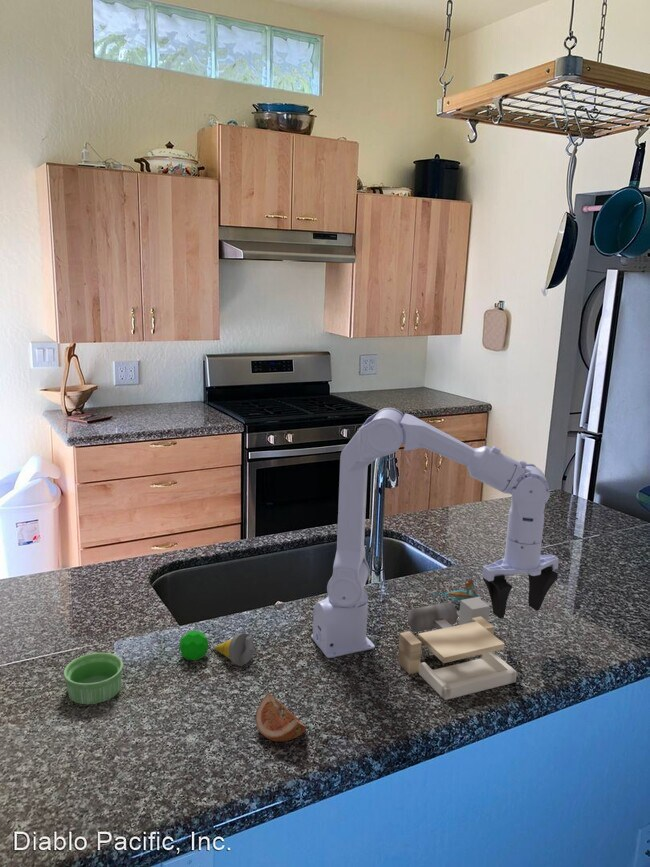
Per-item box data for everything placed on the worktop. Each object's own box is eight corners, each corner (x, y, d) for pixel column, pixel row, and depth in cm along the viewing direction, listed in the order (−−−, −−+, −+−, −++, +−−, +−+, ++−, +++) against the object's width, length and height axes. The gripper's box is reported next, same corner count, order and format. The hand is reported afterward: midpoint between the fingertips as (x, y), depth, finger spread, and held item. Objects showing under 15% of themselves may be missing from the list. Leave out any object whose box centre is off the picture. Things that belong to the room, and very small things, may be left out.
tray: (444, 703, 109) (445, 689, 109) (418, 676, 117) (419, 663, 116) (515, 684, 115) (516, 671, 114) (486, 660, 122) (487, 647, 122)
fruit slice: (315, 744, 99) (316, 714, 98) (275, 762, 95) (276, 731, 94) (285, 714, 106) (286, 685, 105) (247, 729, 102) (247, 699, 101)
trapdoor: (397, 627, 125) (398, 607, 124) (453, 616, 129) (454, 596, 128) (443, 671, 111) (444, 649, 110) (503, 657, 116) (505, 635, 115)
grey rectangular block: (470, 633, 131) (472, 609, 130) (458, 623, 135) (460, 600, 134) (487, 629, 133) (489, 606, 132) (475, 619, 136) (477, 596, 135)
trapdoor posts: (397, 664, 120) (399, 633, 119) (478, 645, 127) (480, 616, 125) (409, 676, 116) (411, 644, 115) (491, 657, 123) (494, 626, 122)
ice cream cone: (249, 629, 116) (207, 628, 122) (242, 662, 114) (199, 659, 119) (269, 639, 120) (227, 637, 125) (262, 670, 117) (219, 667, 123)
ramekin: (103, 669, 116) (102, 646, 115) (135, 690, 111) (134, 666, 110) (54, 693, 109) (52, 668, 108) (85, 717, 104) (84, 691, 103)
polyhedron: (177, 653, 121) (176, 628, 120) (204, 648, 123) (204, 624, 122) (183, 668, 117) (182, 643, 116) (211, 662, 119) (211, 637, 118)
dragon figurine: (446, 613, 147) (481, 613, 142) (430, 608, 142) (465, 608, 137) (447, 582, 149) (481, 582, 145) (431, 576, 144) (466, 575, 139)
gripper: (503, 552, 109) (496, 630, 112) (574, 541, 114) (565, 615, 117) (477, 536, 115) (470, 610, 118) (545, 526, 121) (537, 597, 124)
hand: (516, 611), depth 118 cm, fingers open, 7 cm apart
